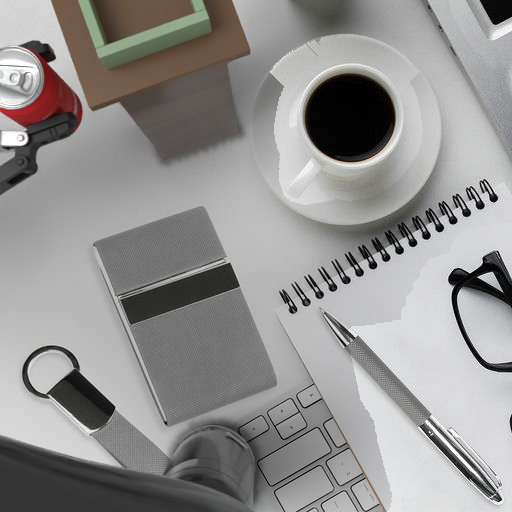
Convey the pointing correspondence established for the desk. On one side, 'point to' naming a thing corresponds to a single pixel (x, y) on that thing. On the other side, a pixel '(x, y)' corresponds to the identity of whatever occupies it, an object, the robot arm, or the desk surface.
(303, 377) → the desk surface
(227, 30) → the can holder
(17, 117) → the beverage can
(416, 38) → the desk surface
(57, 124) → the robot arm
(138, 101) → the stand column
